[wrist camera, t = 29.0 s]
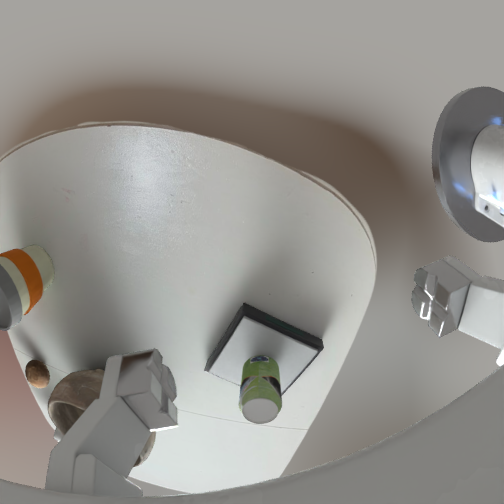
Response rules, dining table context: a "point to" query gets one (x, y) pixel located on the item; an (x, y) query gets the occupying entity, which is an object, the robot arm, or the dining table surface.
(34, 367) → the brown potato
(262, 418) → the beverage can
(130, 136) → the dining table surface
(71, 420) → the bowl
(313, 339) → the kitchen scale
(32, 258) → the reusable coffee cup
